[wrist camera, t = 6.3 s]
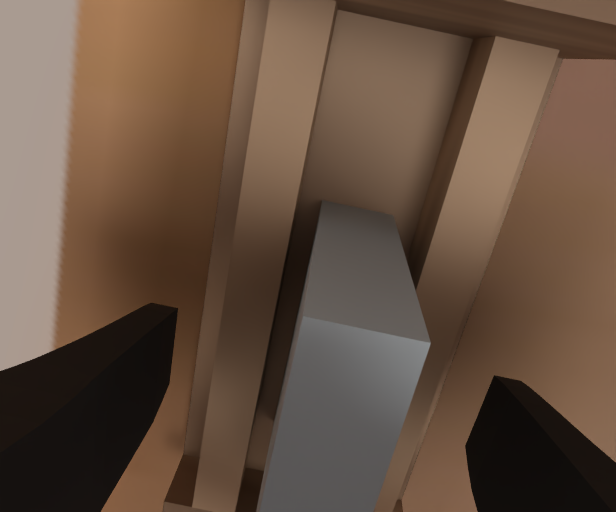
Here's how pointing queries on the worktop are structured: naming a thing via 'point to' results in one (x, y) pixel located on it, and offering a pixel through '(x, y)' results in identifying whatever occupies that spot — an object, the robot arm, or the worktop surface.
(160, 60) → the worktop surface
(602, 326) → the worktop surface
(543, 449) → the robot arm
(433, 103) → the sill track
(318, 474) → the grey rectangular block
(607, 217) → the worktop surface
